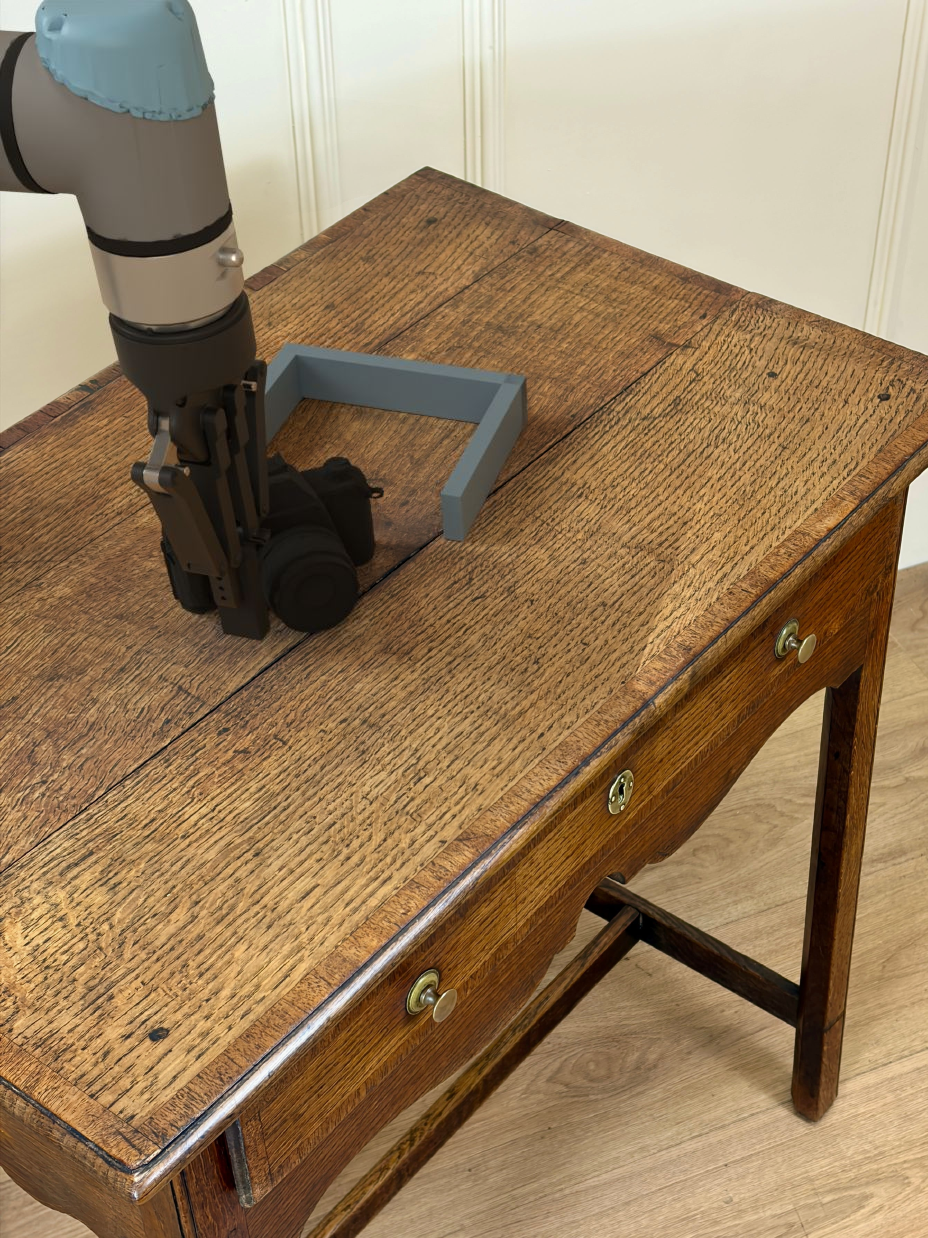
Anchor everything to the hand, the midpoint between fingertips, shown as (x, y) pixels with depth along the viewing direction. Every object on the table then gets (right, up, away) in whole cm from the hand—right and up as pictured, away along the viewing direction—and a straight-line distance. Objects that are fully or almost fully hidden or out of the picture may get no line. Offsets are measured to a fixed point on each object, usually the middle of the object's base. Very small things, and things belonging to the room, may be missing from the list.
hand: (247, 630), depth 95 cm
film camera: (+2, +2, +6) cm, 7 cm away
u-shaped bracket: (+6, +14, +17) cm, 23 cm away
